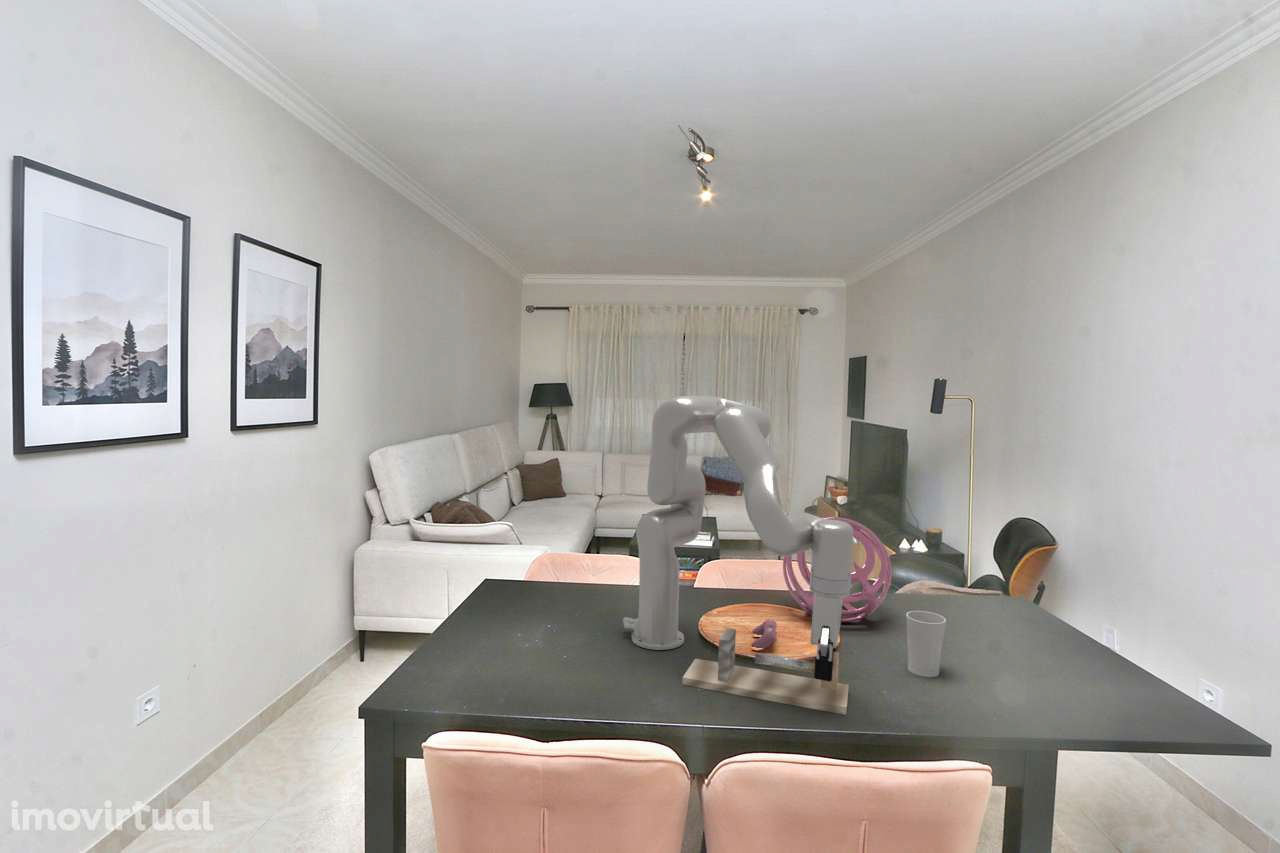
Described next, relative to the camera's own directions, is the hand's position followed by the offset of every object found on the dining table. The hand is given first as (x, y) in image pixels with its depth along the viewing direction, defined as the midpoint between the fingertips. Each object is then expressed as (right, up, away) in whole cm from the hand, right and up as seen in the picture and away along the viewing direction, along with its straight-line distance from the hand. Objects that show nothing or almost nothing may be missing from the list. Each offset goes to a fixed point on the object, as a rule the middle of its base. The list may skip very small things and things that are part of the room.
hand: (824, 669), depth 127 cm
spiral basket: (+16, -4, +46) cm, 49 cm away
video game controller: (-7, -5, +27) cm, 28 cm away
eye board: (-11, -5, +4) cm, 13 cm away
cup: (+26, -6, +14) cm, 30 cm away
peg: (-5, -3, +2) cm, 6 cm away
